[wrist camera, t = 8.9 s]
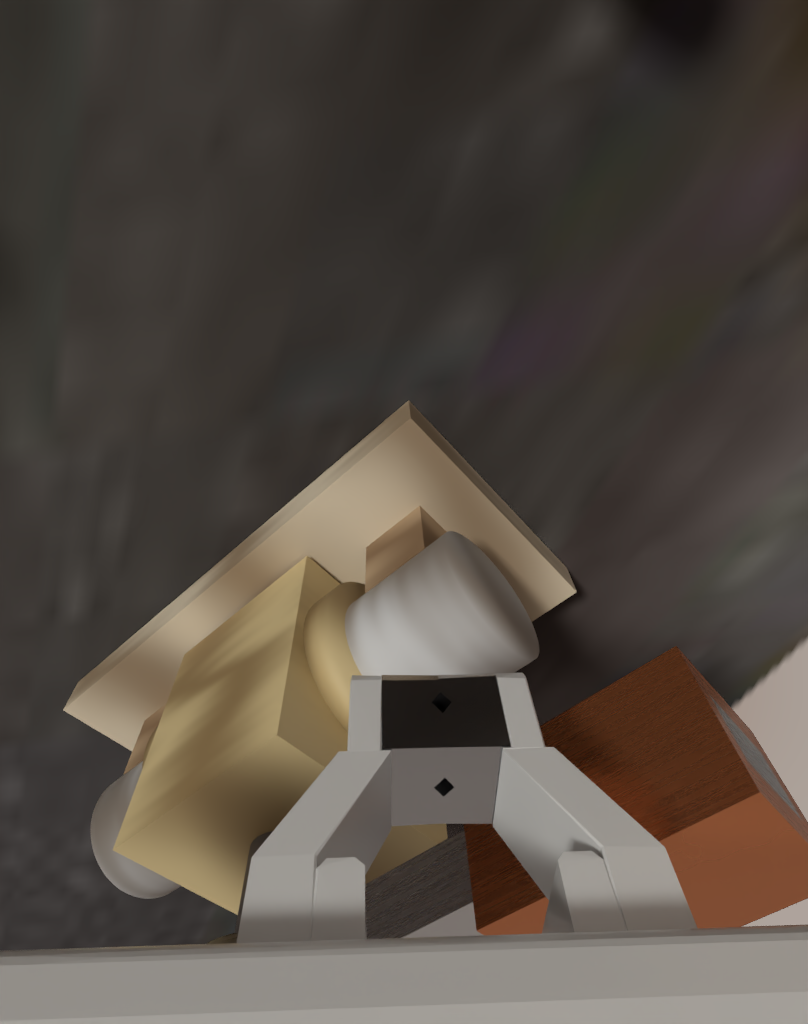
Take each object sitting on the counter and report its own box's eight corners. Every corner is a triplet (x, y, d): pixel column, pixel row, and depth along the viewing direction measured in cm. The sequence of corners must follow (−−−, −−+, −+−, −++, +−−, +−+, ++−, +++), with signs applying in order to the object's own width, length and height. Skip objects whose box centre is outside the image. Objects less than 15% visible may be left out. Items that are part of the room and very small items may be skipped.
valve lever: (275, 989, 17) (256, 1140, 15) (164, 936, 16) (123, 1093, 13) (758, 739, 13) (852, 890, 11) (667, 636, 12) (750, 781, 9)
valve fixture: (245, 786, 31) (177, 1124, 20) (78, 682, 27) (-109, 1027, 17) (566, 567, 25) (699, 880, 15) (408, 399, 21) (436, 657, 11)
